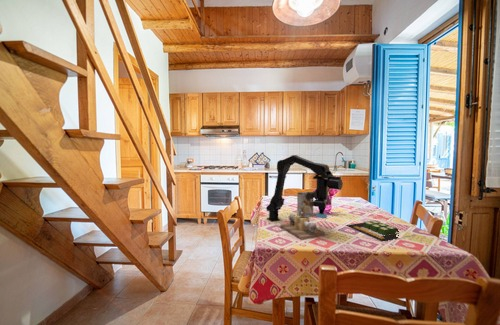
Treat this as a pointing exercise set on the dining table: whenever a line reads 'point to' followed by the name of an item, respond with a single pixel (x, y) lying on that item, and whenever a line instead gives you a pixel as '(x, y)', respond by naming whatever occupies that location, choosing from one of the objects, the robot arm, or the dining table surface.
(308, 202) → the coffee box
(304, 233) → the valve board
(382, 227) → the sushi
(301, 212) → the lever
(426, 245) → the dining table surface
